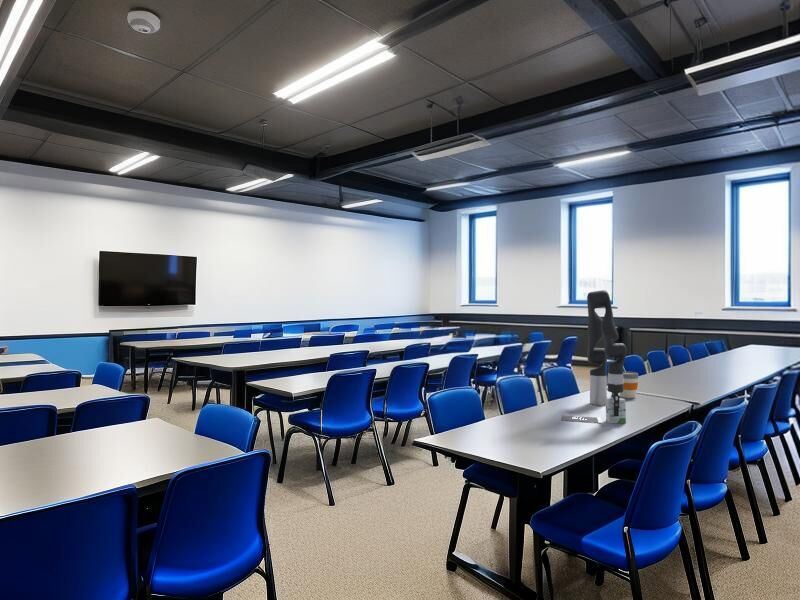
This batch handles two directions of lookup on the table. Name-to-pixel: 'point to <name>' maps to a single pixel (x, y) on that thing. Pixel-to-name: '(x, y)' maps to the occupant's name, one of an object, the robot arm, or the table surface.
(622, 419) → the ink box
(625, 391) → the reusable coffee cup
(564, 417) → the mat
